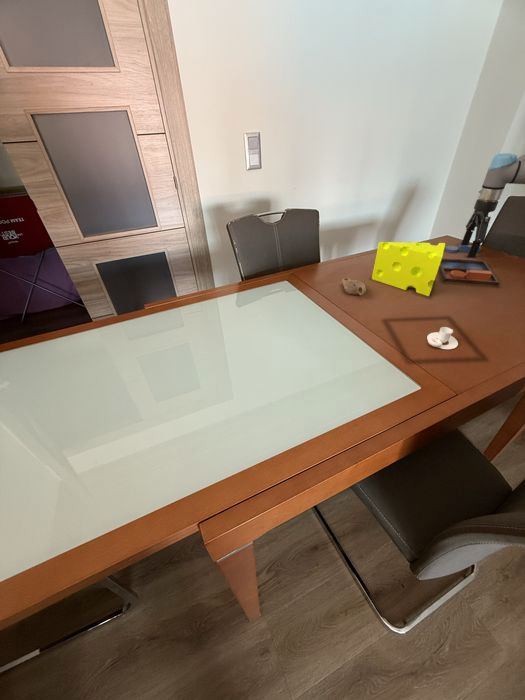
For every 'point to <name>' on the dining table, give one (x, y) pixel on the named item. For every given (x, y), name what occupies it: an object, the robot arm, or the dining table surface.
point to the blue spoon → (459, 248)
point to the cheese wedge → (408, 265)
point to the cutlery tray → (464, 265)
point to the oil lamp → (354, 286)
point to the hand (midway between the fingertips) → (467, 251)
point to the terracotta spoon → (471, 274)
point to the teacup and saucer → (442, 339)
